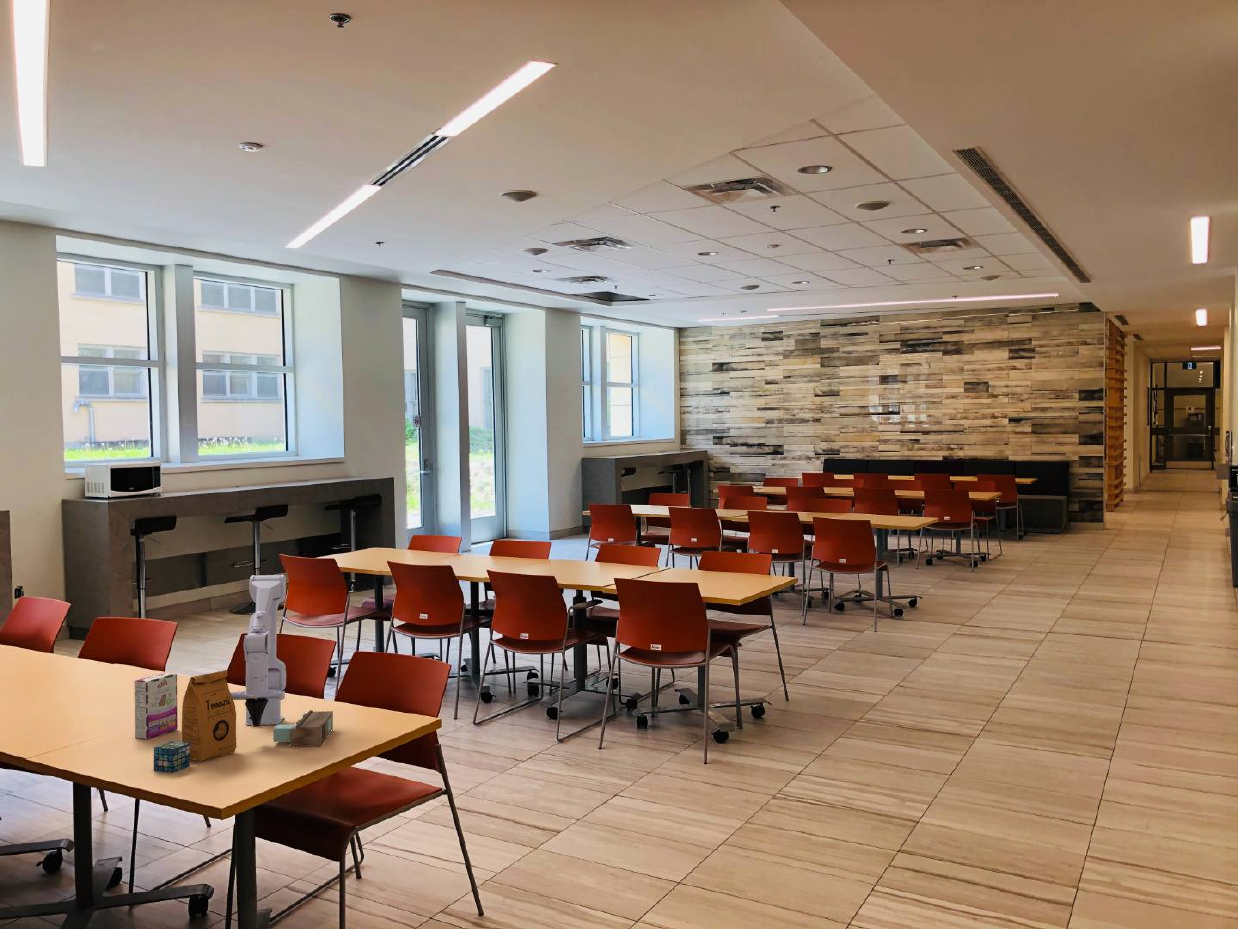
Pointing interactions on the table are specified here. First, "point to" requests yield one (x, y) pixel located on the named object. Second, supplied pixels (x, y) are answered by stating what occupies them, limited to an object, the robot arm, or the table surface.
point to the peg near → (282, 733)
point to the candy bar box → (155, 705)
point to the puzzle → (171, 757)
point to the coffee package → (209, 717)
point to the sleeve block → (311, 729)
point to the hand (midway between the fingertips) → (256, 726)
